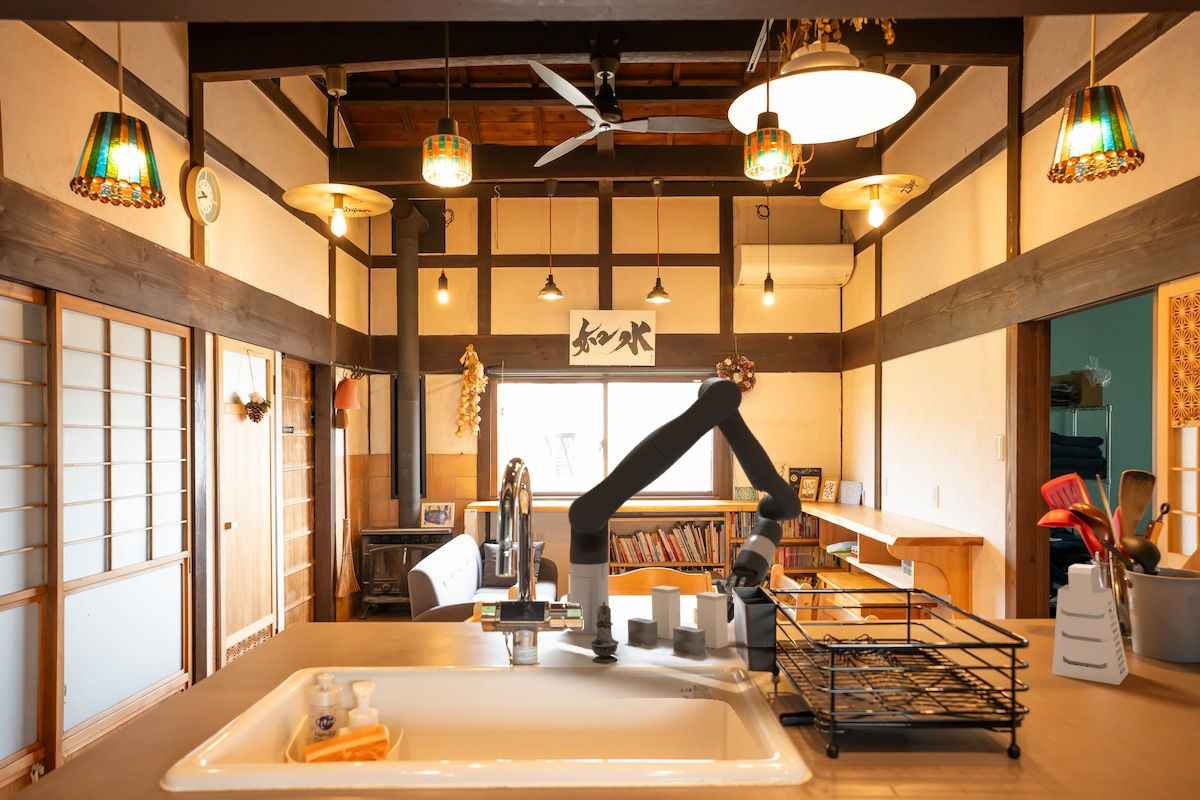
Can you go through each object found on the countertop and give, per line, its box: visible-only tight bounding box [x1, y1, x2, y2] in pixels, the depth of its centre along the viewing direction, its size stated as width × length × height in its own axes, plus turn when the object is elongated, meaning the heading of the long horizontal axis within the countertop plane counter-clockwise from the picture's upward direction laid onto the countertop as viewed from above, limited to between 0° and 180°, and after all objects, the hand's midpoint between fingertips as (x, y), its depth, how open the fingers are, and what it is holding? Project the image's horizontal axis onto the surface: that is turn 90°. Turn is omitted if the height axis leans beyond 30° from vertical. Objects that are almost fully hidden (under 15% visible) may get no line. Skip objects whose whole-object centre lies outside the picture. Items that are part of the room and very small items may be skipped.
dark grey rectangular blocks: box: [624, 617, 706, 658], centre depth 163 cm, size 25×20×6 cm
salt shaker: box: [590, 602, 620, 665], centre depth 154 cm, size 6×6×12 cm
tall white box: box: [695, 591, 729, 650], centre depth 160 cm, size 5×4×11 cm
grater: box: [1051, 563, 1129, 686], centre depth 141 cm, size 10×10×20 cm
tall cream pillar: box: [650, 585, 682, 640], centre depth 170 cm, size 5×4×11 cm
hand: (724, 620), depth 164 cm, fingers closed
